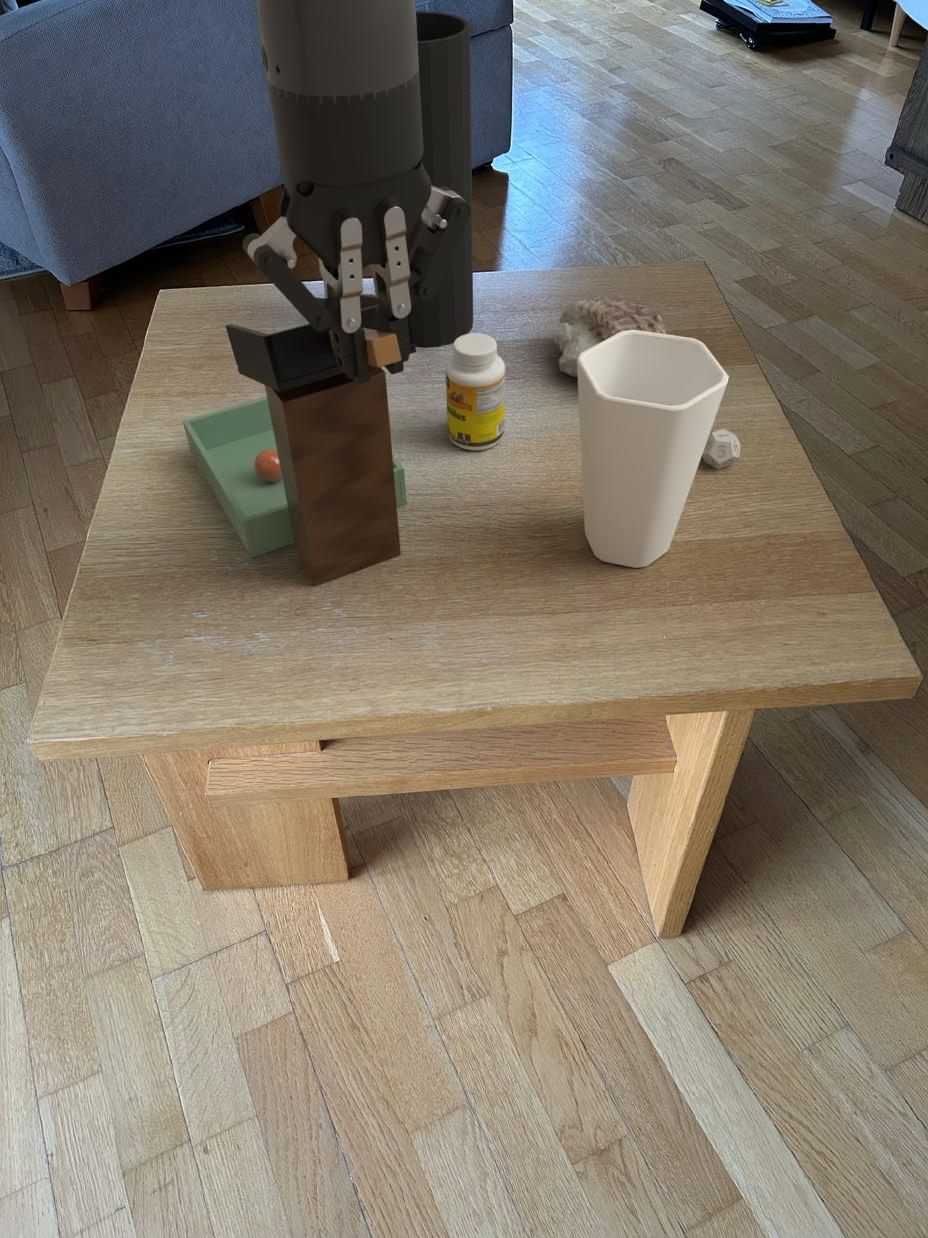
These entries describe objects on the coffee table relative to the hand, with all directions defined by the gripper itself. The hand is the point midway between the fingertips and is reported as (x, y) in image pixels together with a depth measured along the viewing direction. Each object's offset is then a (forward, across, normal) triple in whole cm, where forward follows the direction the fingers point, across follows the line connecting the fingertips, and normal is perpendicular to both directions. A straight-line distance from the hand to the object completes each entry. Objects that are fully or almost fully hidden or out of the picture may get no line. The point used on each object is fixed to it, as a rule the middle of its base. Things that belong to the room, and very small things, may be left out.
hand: (375, 371), depth 59 cm
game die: (+24, +36, +5) cm, 43 cm away
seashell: (+24, +36, +24) cm, 49 cm away
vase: (+24, +24, +42) cm, 54 cm away
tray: (+23, 0, +22) cm, 32 cm away
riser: (+23, 0, +10) cm, 25 cm away
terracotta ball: (+21, -2, +23) cm, 31 cm away
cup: (+24, +22, 0) cm, 32 cm away
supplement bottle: (+24, +18, +20) cm, 36 cm away
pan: (+3, 0, +6) cm, 6 cm away
